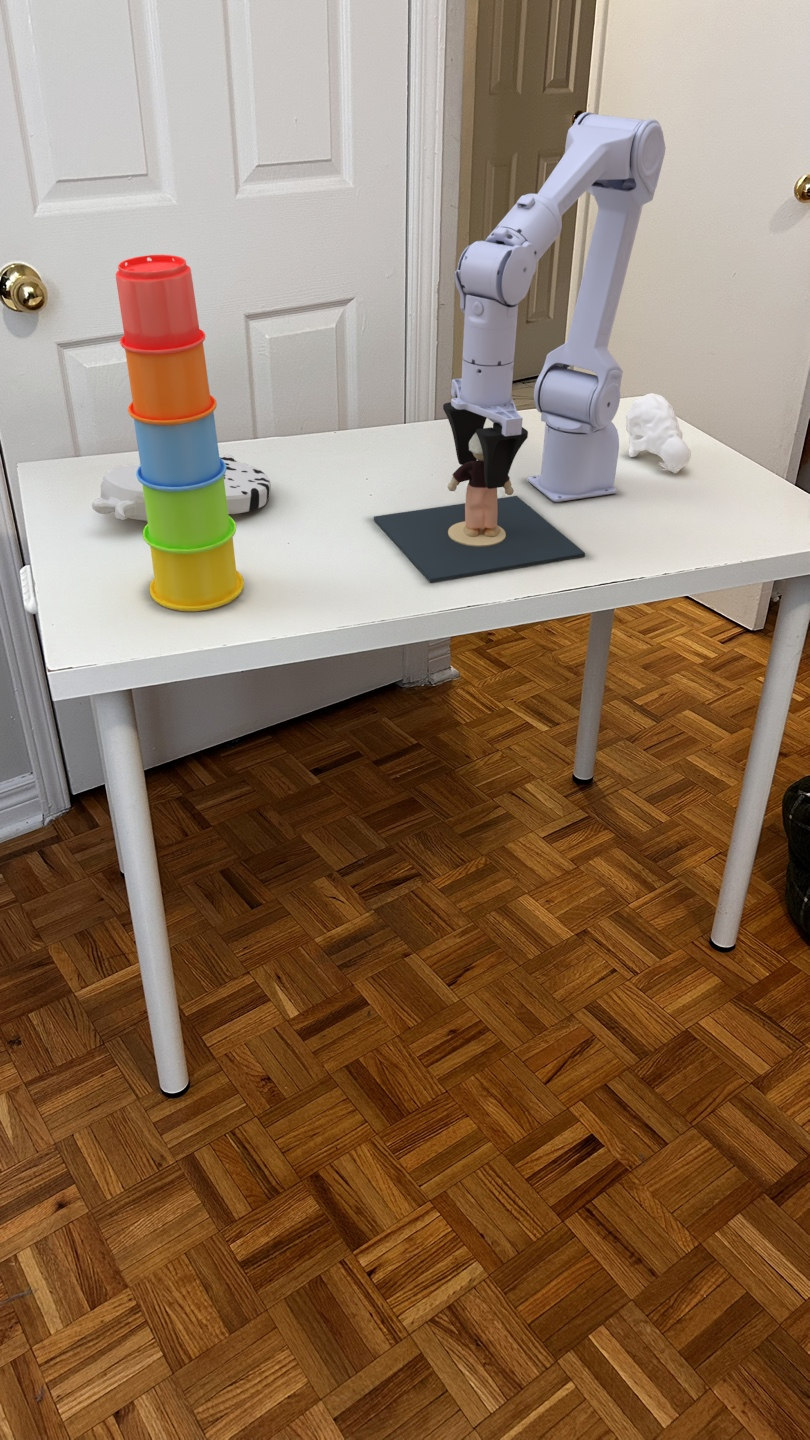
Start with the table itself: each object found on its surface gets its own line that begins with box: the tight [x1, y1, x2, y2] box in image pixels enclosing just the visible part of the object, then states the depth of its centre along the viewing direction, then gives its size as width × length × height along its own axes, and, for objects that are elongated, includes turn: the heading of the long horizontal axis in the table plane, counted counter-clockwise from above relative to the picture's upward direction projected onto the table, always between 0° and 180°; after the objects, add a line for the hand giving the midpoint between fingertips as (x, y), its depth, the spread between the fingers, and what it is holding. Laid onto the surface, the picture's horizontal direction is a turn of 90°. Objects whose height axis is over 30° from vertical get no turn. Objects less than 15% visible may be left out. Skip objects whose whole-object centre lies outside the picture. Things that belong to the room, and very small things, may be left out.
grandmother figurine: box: [447, 433, 515, 537], centre depth 133 cm, size 8×4×13 cm, turn 99°
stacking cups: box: [115, 254, 245, 612], centre depth 114 cm, size 10×10×35 cm
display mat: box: [373, 495, 586, 583], centre depth 137 cm, size 20×18×1 cm
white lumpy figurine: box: [625, 392, 692, 474], centre depth 157 cm, size 6×8×12 cm
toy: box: [91, 454, 272, 522], centre depth 142 cm, size 22×5×20 cm
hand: (480, 474), depth 133 cm, fingers open, 7 cm apart
